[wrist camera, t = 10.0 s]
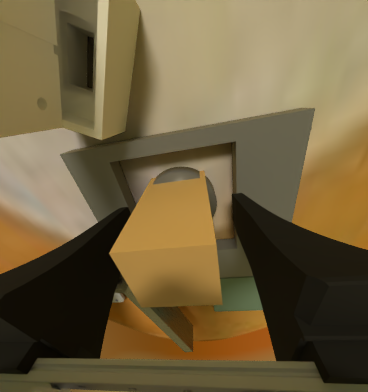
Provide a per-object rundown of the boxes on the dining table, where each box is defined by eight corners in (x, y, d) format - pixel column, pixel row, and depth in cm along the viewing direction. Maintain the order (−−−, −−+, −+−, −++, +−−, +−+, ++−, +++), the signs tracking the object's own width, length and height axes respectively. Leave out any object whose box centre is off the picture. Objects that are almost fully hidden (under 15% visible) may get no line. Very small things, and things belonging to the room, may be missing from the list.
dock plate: (136, 272, 18) (132, 282, 17) (72, 149, 11) (59, 154, 10) (275, 263, 16) (280, 274, 15) (301, 107, 9) (315, 108, 8)
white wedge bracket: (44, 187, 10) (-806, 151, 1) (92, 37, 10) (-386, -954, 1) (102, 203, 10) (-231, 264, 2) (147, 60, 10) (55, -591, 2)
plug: (159, 225, 14) (134, 314, 8) (141, 172, 12) (87, 243, 6) (216, 219, 14) (236, 311, 8) (211, 161, 11) (234, 229, 5)
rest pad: (214, 308, 21) (214, 311, 21) (209, 276, 18) (209, 279, 17) (274, 306, 20) (275, 309, 20) (281, 271, 17) (283, 275, 16)
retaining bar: (120, 251, 14) (103, 284, 12) (133, 248, 14) (119, 281, 11) (184, 325, 21) (183, 356, 18) (194, 324, 21) (194, 356, 18)
